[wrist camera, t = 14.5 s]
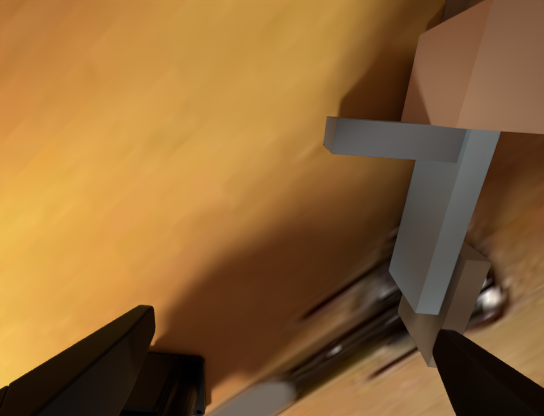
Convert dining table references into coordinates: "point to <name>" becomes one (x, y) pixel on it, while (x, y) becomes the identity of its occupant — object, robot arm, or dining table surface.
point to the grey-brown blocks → (464, 276)
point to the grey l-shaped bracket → (424, 194)
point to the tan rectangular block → (481, 70)
